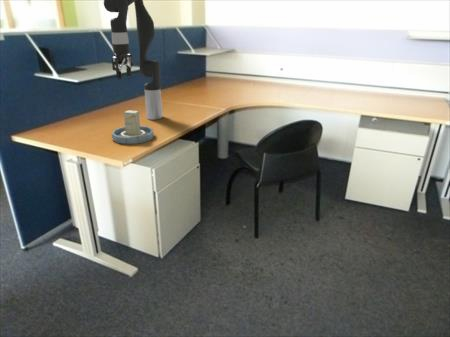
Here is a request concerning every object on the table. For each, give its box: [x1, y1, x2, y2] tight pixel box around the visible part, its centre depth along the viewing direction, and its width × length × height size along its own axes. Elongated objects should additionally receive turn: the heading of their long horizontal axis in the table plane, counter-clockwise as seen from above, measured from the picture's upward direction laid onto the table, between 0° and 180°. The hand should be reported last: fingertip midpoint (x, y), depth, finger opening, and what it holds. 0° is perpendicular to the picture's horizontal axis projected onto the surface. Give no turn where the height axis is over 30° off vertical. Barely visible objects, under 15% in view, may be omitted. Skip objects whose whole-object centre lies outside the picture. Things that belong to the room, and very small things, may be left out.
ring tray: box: [111, 125, 155, 145], centre depth 173 cm, size 20×20×3 cm
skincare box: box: [123, 109, 141, 136], centre depth 171 cm, size 6×4×12 cm
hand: (124, 77), depth 169 cm, fingers open, 8 cm apart
